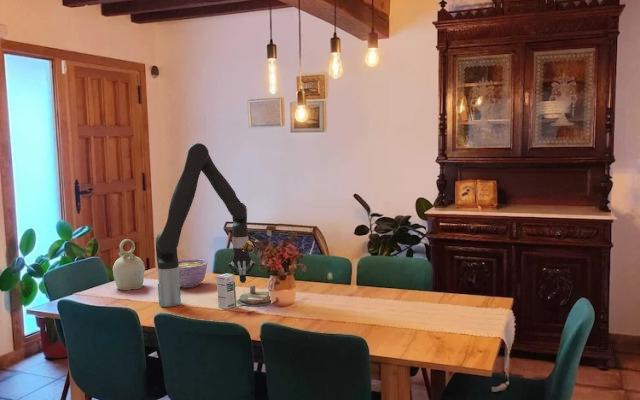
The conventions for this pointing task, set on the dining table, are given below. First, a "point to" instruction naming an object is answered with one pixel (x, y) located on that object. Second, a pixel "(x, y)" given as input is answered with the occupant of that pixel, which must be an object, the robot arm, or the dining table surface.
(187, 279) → the bowl of food
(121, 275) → the jug
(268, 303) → the base plate
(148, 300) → the dining table surface
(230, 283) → the syrup box
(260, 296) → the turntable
